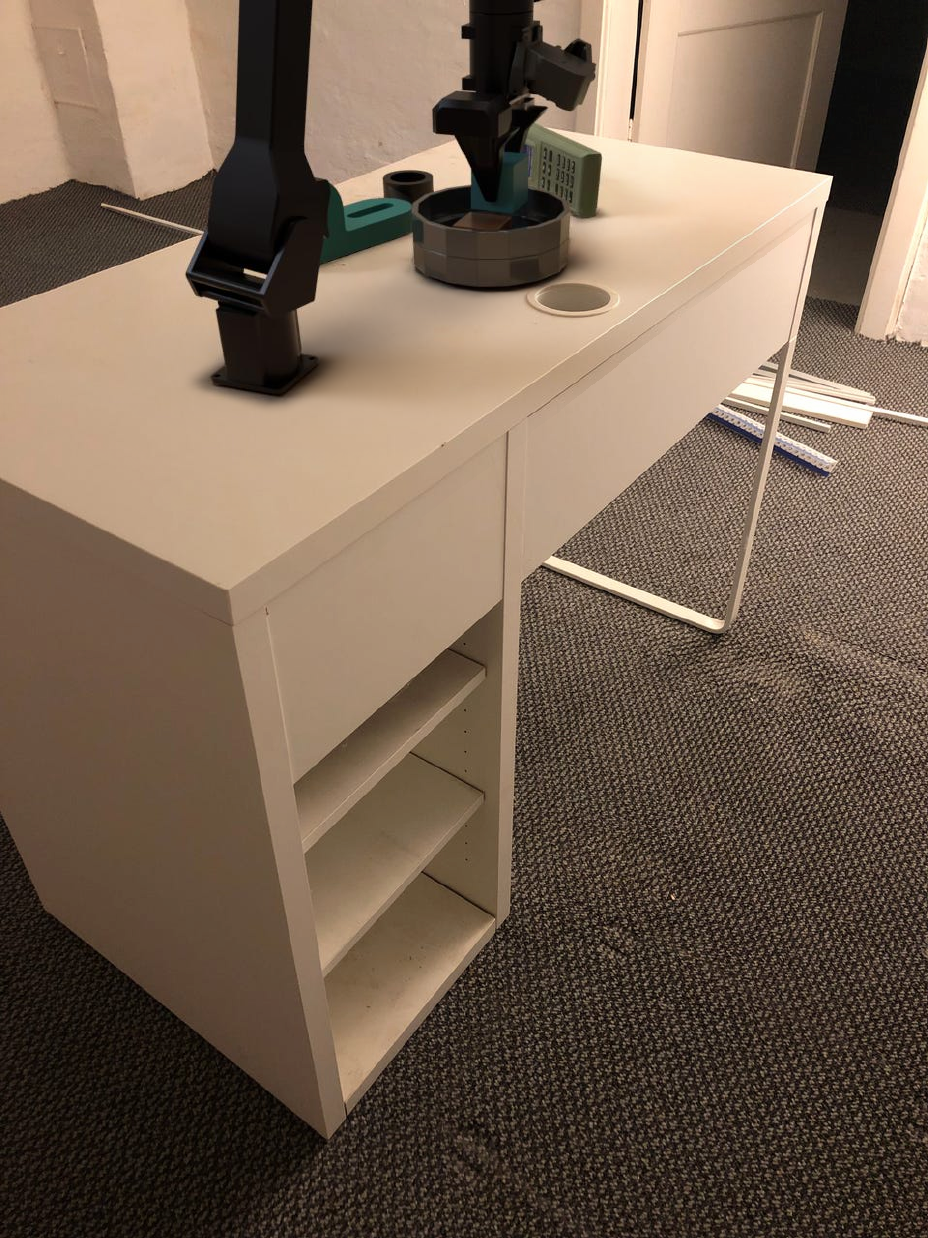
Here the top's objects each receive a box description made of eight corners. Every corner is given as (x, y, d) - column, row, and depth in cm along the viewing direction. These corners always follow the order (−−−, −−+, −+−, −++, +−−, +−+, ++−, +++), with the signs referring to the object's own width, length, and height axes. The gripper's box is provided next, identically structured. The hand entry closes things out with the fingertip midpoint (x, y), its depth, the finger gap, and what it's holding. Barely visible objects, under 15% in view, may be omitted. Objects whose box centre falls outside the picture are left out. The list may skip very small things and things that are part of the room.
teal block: (513, 213, 96) (514, 165, 93) (470, 209, 97) (470, 161, 94) (528, 200, 99) (529, 153, 96) (486, 196, 100) (486, 149, 98)
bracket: (296, 272, 98) (286, 188, 93) (254, 256, 102) (242, 175, 97) (425, 227, 108) (422, 150, 103) (383, 214, 112) (378, 139, 107)
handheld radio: (575, 219, 110) (477, 164, 128) (600, 216, 111) (500, 161, 129) (581, 154, 106) (479, 106, 123) (607, 151, 107) (503, 104, 125)
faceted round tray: (538, 300, 92) (540, 239, 88) (389, 279, 96) (385, 221, 93) (585, 247, 103) (588, 191, 99) (449, 231, 107) (448, 177, 104)
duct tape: (355, 208, 114) (353, 181, 112) (412, 187, 120) (411, 161, 118) (405, 220, 110) (404, 193, 108) (462, 198, 116) (461, 172, 114)
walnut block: (495, 277, 95) (496, 230, 92) (453, 271, 96) (452, 225, 94) (511, 262, 98) (512, 216, 95) (470, 256, 100) (469, 211, 97)
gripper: (555, 31, 79) (547, 232, 88) (617, -1, 92) (604, 177, 102) (427, 24, 82) (432, 219, 92) (504, -6, 95) (502, 167, 105)
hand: (499, 194), depth 98 cm, fingers closed on teal block, 4 cm apart
